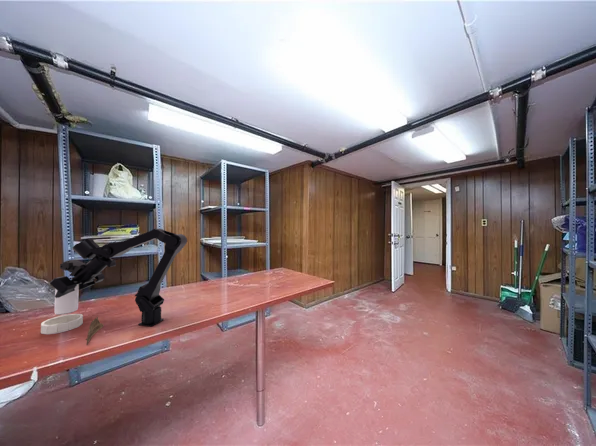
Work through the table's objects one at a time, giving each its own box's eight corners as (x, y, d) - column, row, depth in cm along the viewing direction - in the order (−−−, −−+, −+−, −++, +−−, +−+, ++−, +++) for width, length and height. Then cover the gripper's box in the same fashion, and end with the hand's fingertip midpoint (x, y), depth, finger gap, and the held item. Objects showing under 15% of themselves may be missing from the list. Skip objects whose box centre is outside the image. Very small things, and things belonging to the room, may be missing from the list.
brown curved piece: (92, 344, 73) (93, 329, 73) (84, 346, 72) (84, 331, 72) (103, 326, 86) (104, 313, 86) (96, 327, 85) (97, 314, 85)
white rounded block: (68, 314, 83) (69, 283, 83) (49, 315, 82) (50, 284, 82) (82, 308, 89) (83, 279, 90) (65, 309, 88) (66, 280, 89)
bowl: (89, 322, 89) (89, 315, 89) (55, 335, 78) (55, 327, 78) (68, 319, 91) (69, 312, 91) (32, 332, 80) (32, 324, 80)
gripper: (97, 250, 96) (69, 275, 94) (56, 256, 77) (20, 287, 76) (116, 267, 97) (89, 293, 95) (80, 277, 78) (45, 309, 77)
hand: (63, 295), depth 86 cm, fingers closed on white rounded block, 5 cm apart
